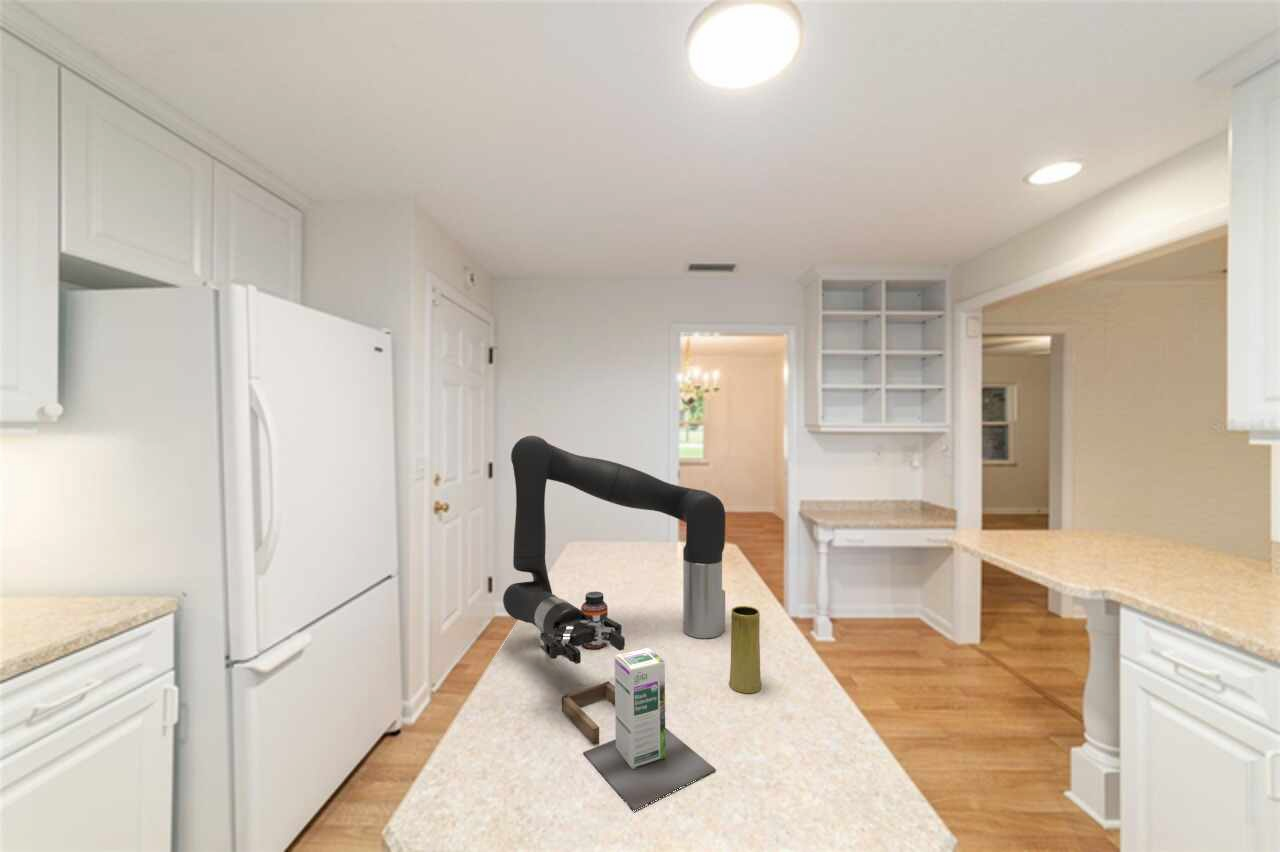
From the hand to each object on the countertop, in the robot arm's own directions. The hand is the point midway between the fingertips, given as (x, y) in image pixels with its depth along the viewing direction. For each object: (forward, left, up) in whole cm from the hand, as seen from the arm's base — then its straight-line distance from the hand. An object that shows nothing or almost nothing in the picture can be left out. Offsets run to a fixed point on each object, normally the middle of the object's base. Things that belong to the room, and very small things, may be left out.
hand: (601, 651), depth 88 cm
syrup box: (0, +12, -11) cm, 17 cm away
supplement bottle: (-13, -26, -11) cm, 31 cm away
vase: (-28, +6, -11) cm, 31 cm away
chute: (0, +8, -11) cm, 14 cm away
